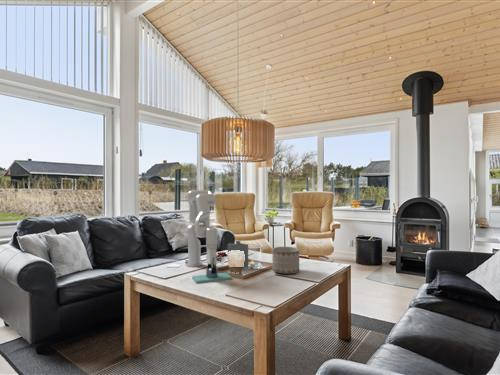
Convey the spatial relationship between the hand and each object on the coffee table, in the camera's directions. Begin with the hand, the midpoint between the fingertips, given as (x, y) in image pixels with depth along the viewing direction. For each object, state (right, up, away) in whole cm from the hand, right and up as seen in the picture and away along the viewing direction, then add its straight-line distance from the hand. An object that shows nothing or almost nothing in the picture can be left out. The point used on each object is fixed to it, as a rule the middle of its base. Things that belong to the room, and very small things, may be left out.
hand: (211, 271), depth 217 cm
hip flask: (+16, -5, +31) cm, 36 cm away
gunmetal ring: (0, -3, 0) cm, 3 cm away
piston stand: (0, -5, 0) cm, 5 cm away
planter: (+52, -5, +17) cm, 54 cm away
